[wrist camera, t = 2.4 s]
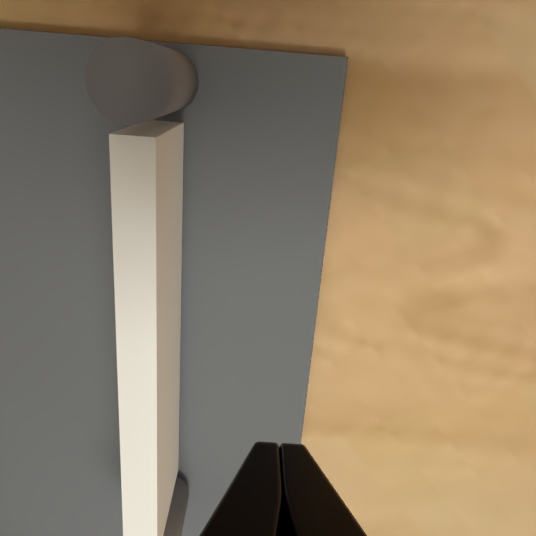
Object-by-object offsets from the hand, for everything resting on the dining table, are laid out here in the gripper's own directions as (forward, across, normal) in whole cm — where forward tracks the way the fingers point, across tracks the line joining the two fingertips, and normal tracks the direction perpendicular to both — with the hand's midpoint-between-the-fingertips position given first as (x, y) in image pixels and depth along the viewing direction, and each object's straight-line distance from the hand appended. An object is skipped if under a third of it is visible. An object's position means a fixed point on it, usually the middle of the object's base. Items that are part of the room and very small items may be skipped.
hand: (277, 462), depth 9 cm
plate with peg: (+12, +10, +4) cm, 16 cm away
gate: (+11, +4, +4) cm, 12 cm away
